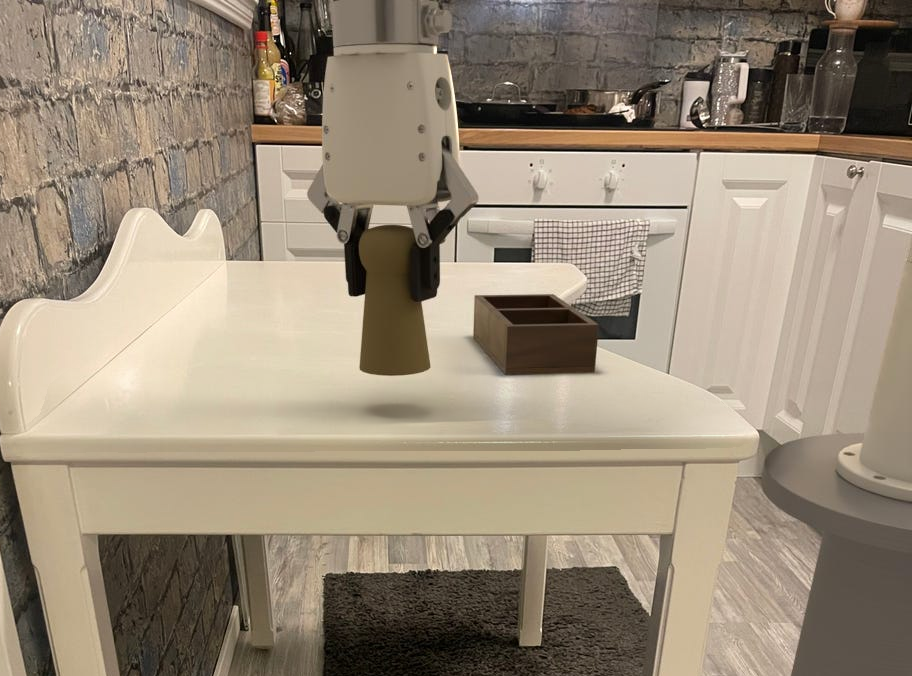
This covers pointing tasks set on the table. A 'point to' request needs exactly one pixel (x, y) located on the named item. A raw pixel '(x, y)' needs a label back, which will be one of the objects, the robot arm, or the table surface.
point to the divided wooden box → (535, 334)
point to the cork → (391, 305)
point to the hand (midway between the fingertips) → (392, 294)
